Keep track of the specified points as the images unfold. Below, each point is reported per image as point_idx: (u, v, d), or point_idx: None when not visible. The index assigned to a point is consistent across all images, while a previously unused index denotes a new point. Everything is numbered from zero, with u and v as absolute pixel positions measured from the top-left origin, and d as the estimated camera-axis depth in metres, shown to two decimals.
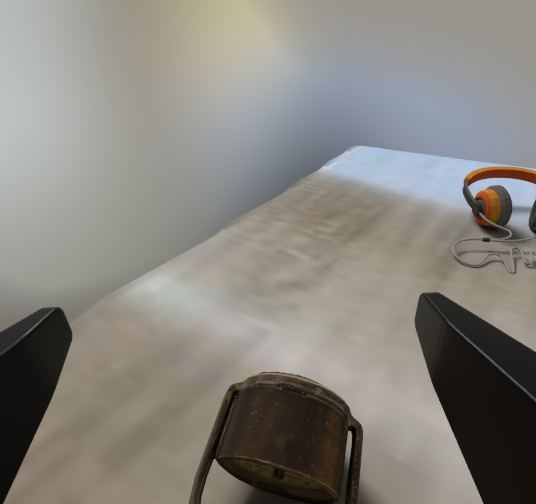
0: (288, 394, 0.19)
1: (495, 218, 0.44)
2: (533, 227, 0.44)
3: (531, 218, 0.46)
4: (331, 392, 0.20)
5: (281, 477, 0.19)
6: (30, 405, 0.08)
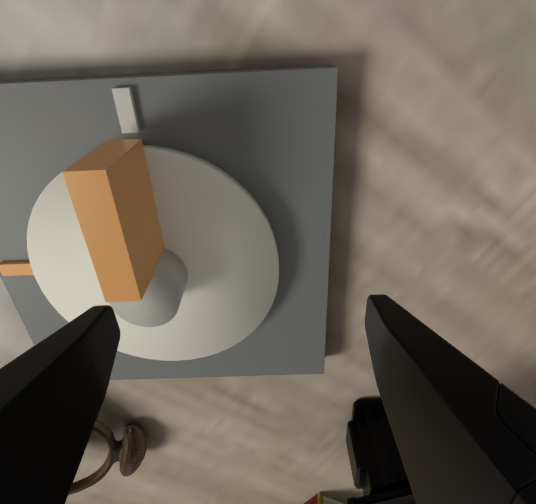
0: None
1: None
2: None
3: None
4: None
5: None
6: (88, 403, 0.08)
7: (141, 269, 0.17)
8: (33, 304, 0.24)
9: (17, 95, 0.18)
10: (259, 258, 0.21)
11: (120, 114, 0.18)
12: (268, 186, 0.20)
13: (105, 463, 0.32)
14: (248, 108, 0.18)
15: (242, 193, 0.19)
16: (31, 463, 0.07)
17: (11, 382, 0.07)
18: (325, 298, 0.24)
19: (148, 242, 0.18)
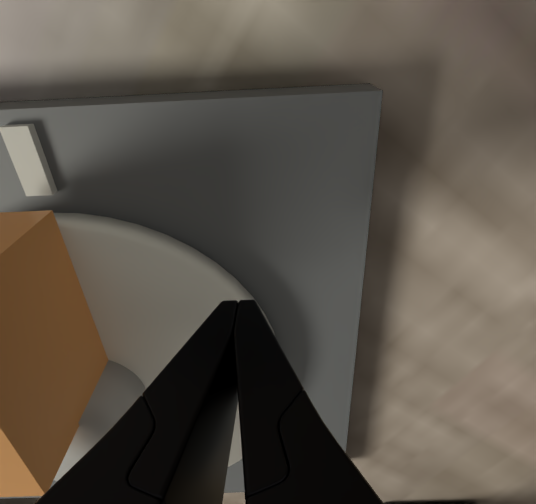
0: None
1: None
2: None
3: None
4: None
5: None
6: (233, 398, 0.08)
7: (48, 438, 0.10)
8: None
9: None
10: None
11: (19, 167, 0.11)
12: (265, 269, 0.13)
13: None
14: (231, 156, 0.11)
15: (224, 288, 0.12)
16: (211, 458, 0.06)
17: (191, 376, 0.06)
18: (347, 408, 0.17)
19: (67, 378, 0.11)
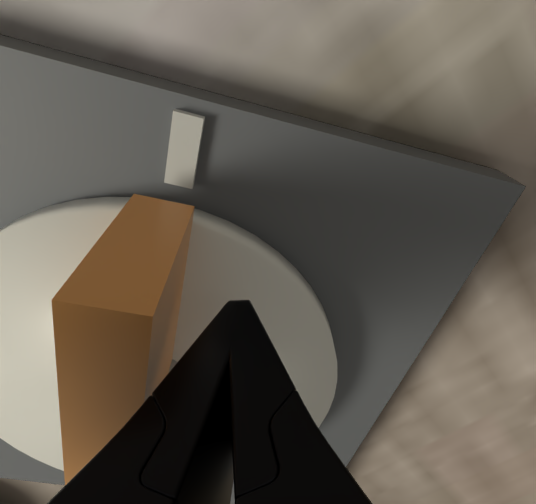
0: None
1: None
2: None
3: None
4: None
5: None
6: None
7: None
8: None
9: None
10: (307, 396, 0.14)
11: (172, 154, 0.10)
12: (352, 306, 0.13)
13: None
14: (375, 202, 0.11)
15: (321, 316, 0.12)
16: (220, 457, 0.06)
17: (200, 375, 0.06)
18: (358, 442, 0.18)
19: (161, 379, 0.10)
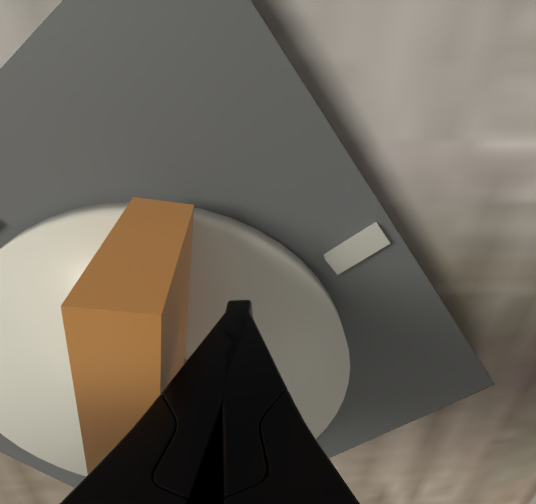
0: None
1: None
2: None
3: None
4: None
5: None
6: None
7: None
8: None
9: (290, 101, 0.10)
10: (321, 385, 0.14)
11: (349, 248, 0.12)
12: (347, 398, 0.16)
13: None
14: (422, 347, 0.15)
15: (329, 303, 0.12)
16: None
17: (209, 375, 0.06)
18: None
19: None
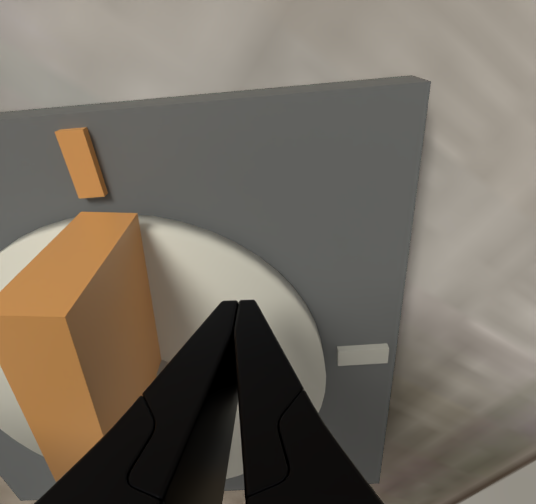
0: None
1: None
2: None
3: None
4: None
5: None
6: (233, 398, 0.08)
7: None
8: None
9: (394, 243, 0.13)
10: (299, 378, 0.14)
11: (360, 353, 0.15)
12: None
13: None
14: (352, 438, 0.18)
15: (288, 297, 0.12)
16: (211, 458, 0.06)
17: (191, 376, 0.06)
18: None
19: (137, 377, 0.11)
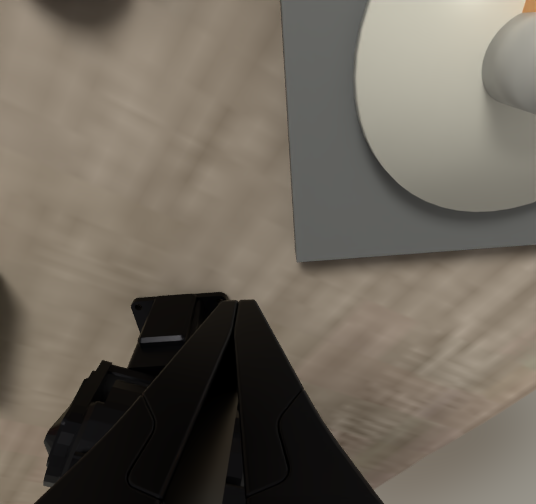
0: None
1: None
2: None
3: None
4: None
5: None
6: (233, 398, 0.08)
7: None
8: None
9: None
10: None
11: None
12: None
13: None
14: None
15: None
16: (211, 458, 0.06)
17: (191, 376, 0.06)
18: (413, 251, 0.22)
19: None
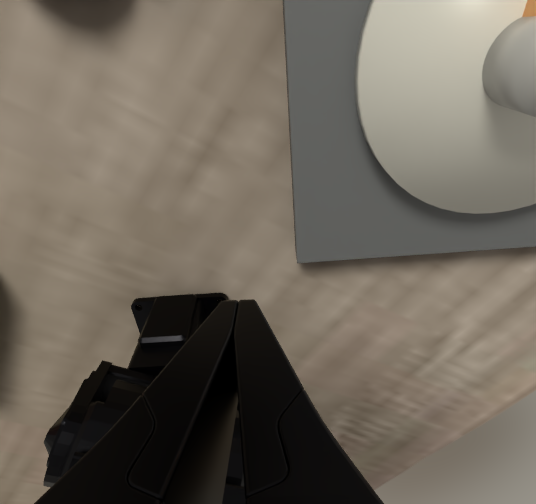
0: None
1: None
2: None
3: None
4: None
5: None
6: (233, 398, 0.08)
7: None
8: None
9: None
10: None
11: None
12: None
13: None
14: None
15: None
16: (211, 458, 0.06)
17: (191, 376, 0.06)
18: (413, 253, 0.22)
19: None
